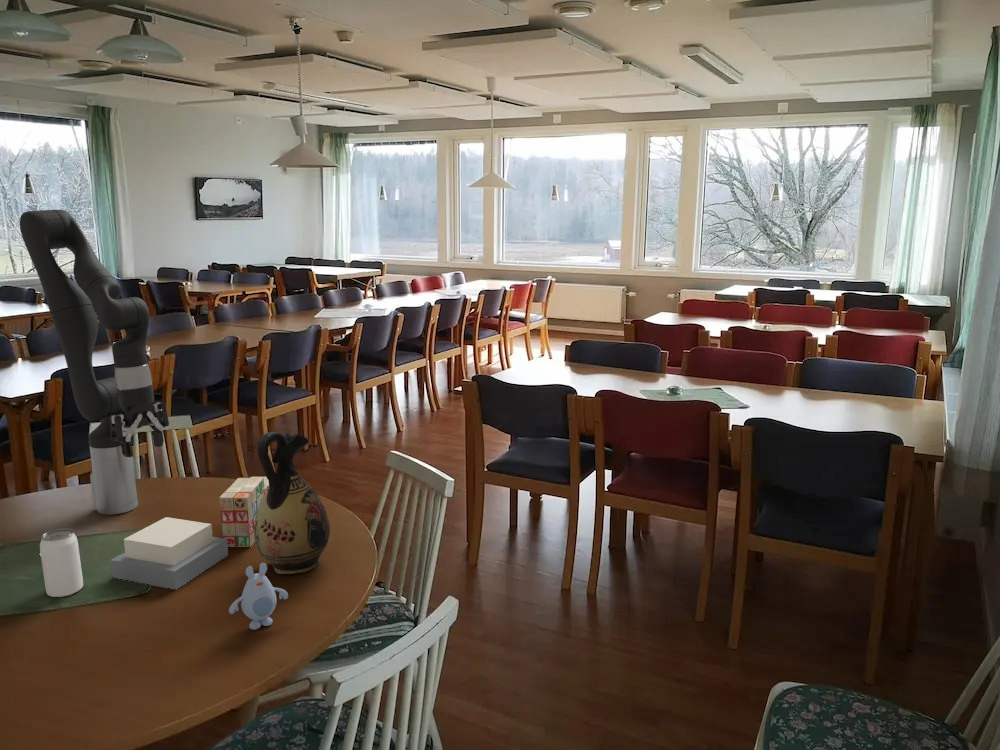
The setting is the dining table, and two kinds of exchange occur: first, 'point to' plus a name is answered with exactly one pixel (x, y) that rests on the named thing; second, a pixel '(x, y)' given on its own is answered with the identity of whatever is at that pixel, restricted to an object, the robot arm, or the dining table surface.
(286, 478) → the ceramic jug
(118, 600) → the dining table surface
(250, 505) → the stack of blocks
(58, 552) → the can
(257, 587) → the toy figure
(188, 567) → the tower base
